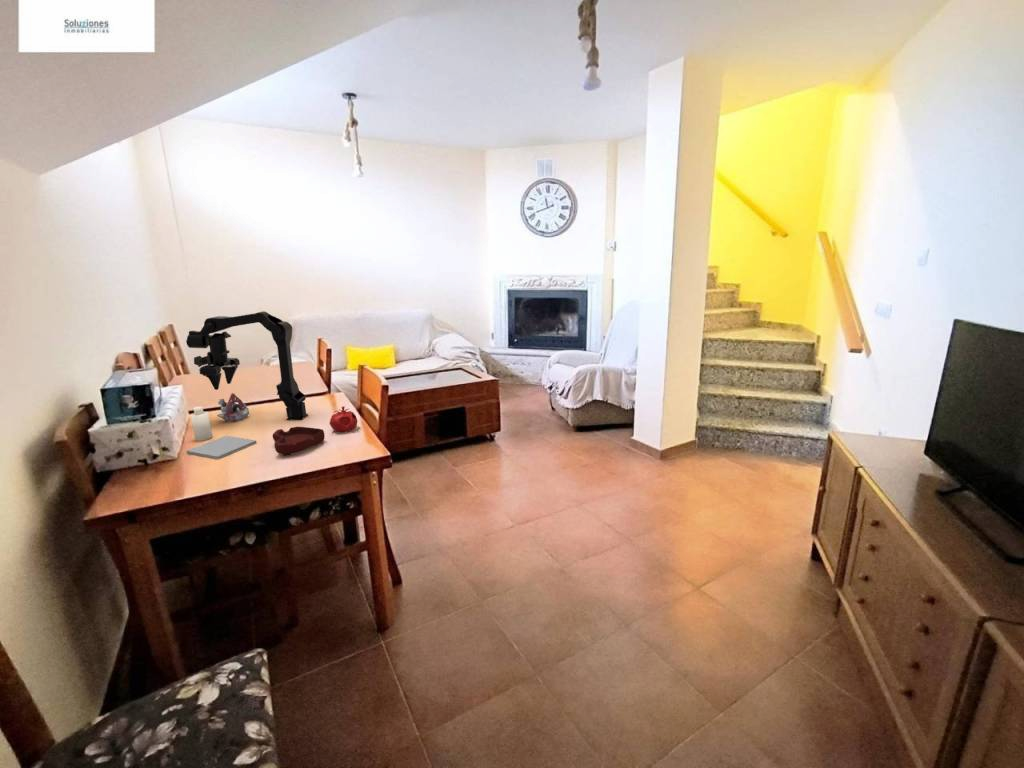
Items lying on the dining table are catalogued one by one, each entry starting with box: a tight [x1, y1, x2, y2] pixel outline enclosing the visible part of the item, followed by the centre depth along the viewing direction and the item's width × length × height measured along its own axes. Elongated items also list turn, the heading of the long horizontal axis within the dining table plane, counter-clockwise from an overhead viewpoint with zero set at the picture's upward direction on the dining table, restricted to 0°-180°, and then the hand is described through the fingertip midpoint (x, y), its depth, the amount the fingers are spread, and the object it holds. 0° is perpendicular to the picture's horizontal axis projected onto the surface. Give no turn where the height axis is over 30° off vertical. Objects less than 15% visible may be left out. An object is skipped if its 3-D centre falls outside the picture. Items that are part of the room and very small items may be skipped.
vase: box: [190, 405, 214, 442], centre depth 172 cm, size 5×5×12 cm
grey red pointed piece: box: [217, 392, 250, 422], centre depth 194 cm, size 11×11×12 cm
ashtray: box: [272, 426, 326, 457], centre depth 164 cm, size 18×16×5 cm
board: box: [185, 435, 257, 460], centre depth 164 cm, size 15×15×1 cm
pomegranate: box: [329, 406, 358, 433], centre depth 179 cm, size 10×10×9 cm
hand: (222, 386), depth 190 cm, fingers open, 9 cm apart
